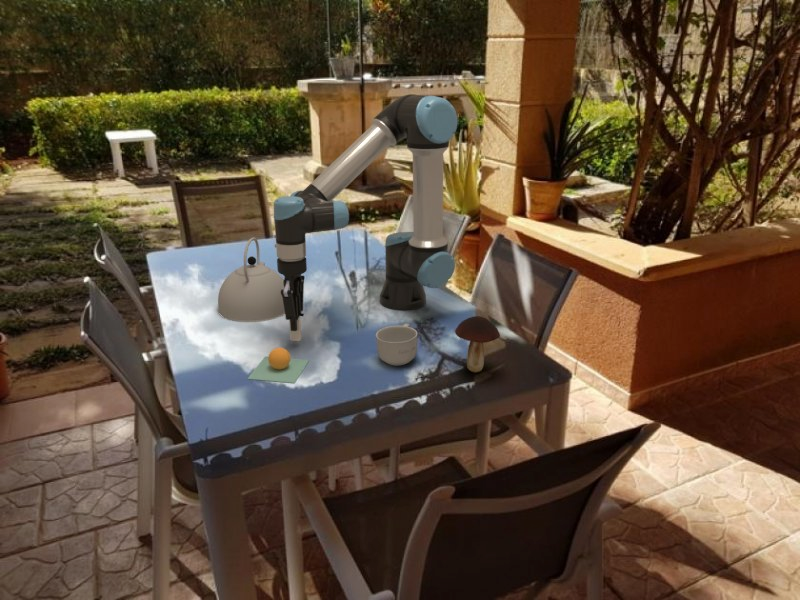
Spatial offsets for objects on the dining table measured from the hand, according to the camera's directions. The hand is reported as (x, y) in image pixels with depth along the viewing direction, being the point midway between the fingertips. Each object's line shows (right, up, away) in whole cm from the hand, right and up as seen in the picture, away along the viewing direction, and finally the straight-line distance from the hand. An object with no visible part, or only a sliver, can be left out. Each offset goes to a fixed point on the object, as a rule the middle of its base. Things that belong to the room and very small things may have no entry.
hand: (296, 339), depth 162 cm
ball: (-2, -4, -12) cm, 13 cm away
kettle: (-17, +9, +27) cm, 33 cm away
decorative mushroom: (+47, -7, -11) cm, 49 cm away
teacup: (+28, -5, -5) cm, 29 cm away
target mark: (-2, -7, -12) cm, 14 cm away
